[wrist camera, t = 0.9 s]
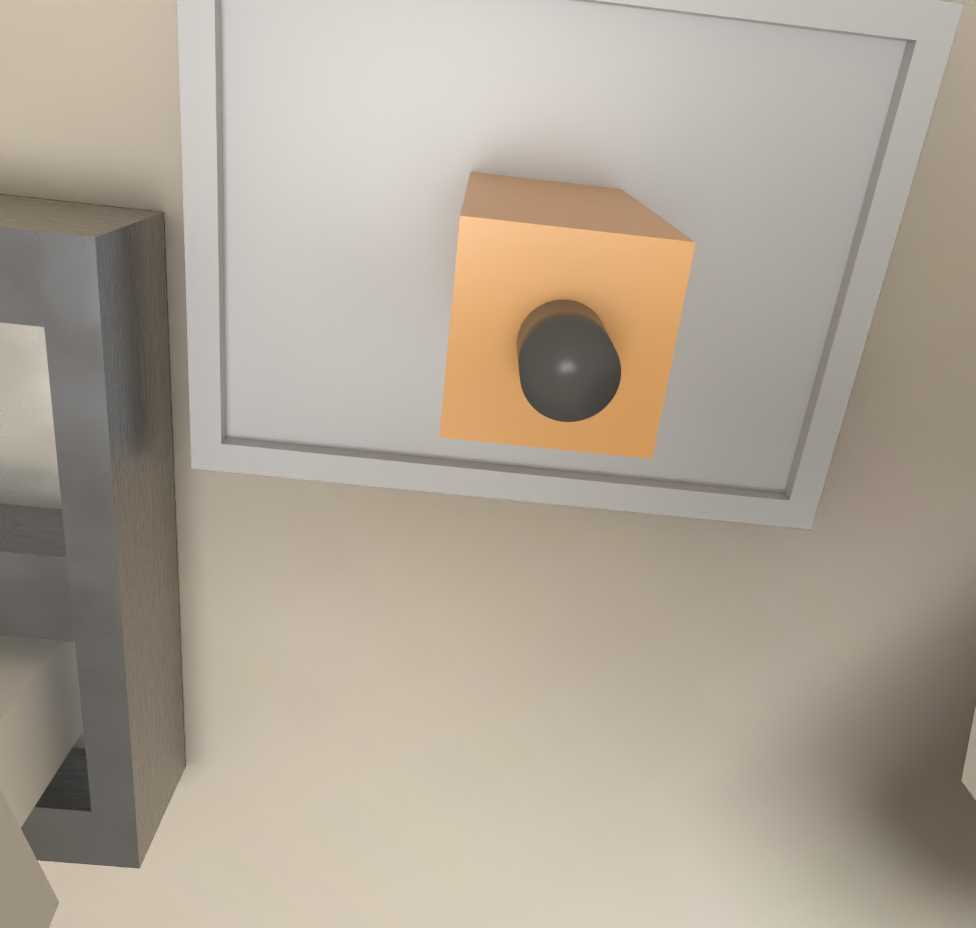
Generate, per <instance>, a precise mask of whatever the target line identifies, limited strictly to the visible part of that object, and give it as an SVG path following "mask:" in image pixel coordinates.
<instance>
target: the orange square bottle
mask: <svg viewBox="0 0 976 928" xmlns="http://www.w3.org/2000/svg"><path fill="white" fill-rule="evenodd" d="M695 244H696V242H695V241H693V240H692V239H691V238H689V237H688V236H686V235H685V234H684V233H682V232H681V231H679V230H678V229H677V228H675V227H674V226H672V225H671V224H670V223H668V222H667V221H665V220H664V219H663V218H661V217H660V216H658V215H657V214H655V213H654V212H653V211H651V210H650V209H648V208H647V207H646V206H644V205H643V204H641V203H640V202H639V201H637V200H636V199H634V198H633V197H632V196H630V195H629V194H627V193H626V192H625V191H623V190H622V189H616V188H608V187H599V186H590V185H582V184H573V183H564V182H556V181H547V180H538V179H530V178H521V177H512V176H503V175H495V174H486V173H477V172H470V175H469V180H468V184H467V188H466V192H465V196H464V201H463V205H462V209H461V213H460V221H459V231H458V242H457V253H456V263H455V274H454V285H453V296H452V306H451V317H450V328H449V339H448V349H447V360H446V371H445V382H444V392H443V403H442V414H441V424H440V435H439V438H449V439H459V440H469V441H478V442H488V443H498V444H508V445H518V446H528V447H537V448H547V449H557V450H567V451H577V452H587V453H596V454H606V455H616V456H626V457H636V458H646V459H652V458H653V453H654V448H655V443H656V438H657V433H658V428H659V423H660V418H661V413H662V408H663V403H664V399H665V394H666V389H667V384H668V379H669V374H670V369H671V364H672V359H673V354H674V349H675V344H676V339H677V334H678V329H679V324H680V319H681V314H682V309H683V304H684V299H685V294H686V289H687V284H688V279H689V274H690V269H691V264H692V259H693V254H694V249H695Z"/></svg>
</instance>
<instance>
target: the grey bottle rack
mask: <svg viewBox="0 0 976 928" xmlns="http://www.w3.org/2000/svg"><path fill="white" fill-rule="evenodd" d="M0 635H5V636H16V637H27V638H39V639H50V640H61V641H72V642H75V648H76V658H77V668H78V678H79V689H80V699H81V709H82V719H83V729H84V730H83V731H82V733H81V735H80V736H79V738H78V739H77V741H76V742H75V744H74V745H73V747H72V749H71V750H70V752H69V753H68V755H67V756H66V758H65V760H64V761H63V763H62V764H61V766H60V767H59V769H58V771H57V772H56V774H55V775H54V777H53V778H52V780H51V782H50V783H49V785H48V786H47V788H46V789H45V791H44V793H43V794H42V796H41V797H40V799H39V800H38V802H37V803H36V805H35V807H34V808H33V810H32V811H31V813H30V814H29V816H28V818H27V819H26V821H25V822H24V824H23V825H22V827H21V830H22V832H23V834H24V836H25V838H26V840H27V841H28V843H29V845H30V847H31V849H32V851H33V853H34V855H35V857H36V859H37V860H41V861H54V862H66V863H79V864H91V865H104V866H117V867H129V868H140V866H141V864H142V862H143V860H144V858H145V855H146V853H147V851H148V849H149V846H150V844H151V842H152V840H153V838H154V835H155V833H156V831H157V829H158V826H159V824H160V822H161V820H162V818H163V815H164V813H165V811H166V809H167V807H168V804H169V802H170V800H171V798H172V795H173V793H174V791H175V789H176V787H177V784H178V782H179V780H180V778H181V775H182V773H183V771H184V769H185V742H184V717H183V691H182V666H181V641H180V615H179V590H178V564H177V539H176V514H175V488H174V463H173V438H172V412H171V387H170V361H169V336H168V311H167V285H166V260H165V234H164V212H156V211H147V210H138V209H129V208H120V207H111V206H102V205H93V204H84V203H75V202H66V201H57V200H48V199H39V198H30V197H21V196H12V195H3V194H0Z"/></svg>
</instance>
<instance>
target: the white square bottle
mask: <svg viewBox="0 0 976 928" xmlns="http://www.w3.org/2000/svg"><path fill="white" fill-rule="evenodd" d="M83 730H84V729H83V719H82V709H81V699H80V689H79V678H78V668H77V658H76V648H75V642H72V641H61V640H50V639H39V638H27V637H16V636H5V635H0V790H1V792H2V794H3V796H4V797H5V799H6V801H7V803H8V805H9V807H10V809H11V811H12V813H13V815H14V817H15V819H16V820H17V822H18V824H19V826H20V828H21V827H22V825H23V824H24V822H25V821H26V819H27V818H28V816H29V814H30V813H31V811H32V810H33V808H34V807H35V805H36V803H37V802H38V800H39V799H40V797H41V796H42V794H43V793H44V791H45V789H46V788H47V786H48V785H49V783H50V782H51V780H52V778H53V777H54V775H55V774H56V772H57V771H58V769H59V767H60V766H61V764H62V763H63V761H64V760H65V758H66V756H67V755H68V753H69V752H70V750H71V749H72V747H73V745H74V744H75V742H76V741H77V739H78V738H79V736H80V735H81V733H82V731H83Z"/></svg>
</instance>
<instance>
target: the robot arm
mask: <svg viewBox="0 0 976 928" xmlns="http://www.w3.org/2000/svg"><path fill="white" fill-rule="evenodd" d="M961 781H962V782H963V784H964V785H965V786H966V788H967V789H968V791H969V792H970V793H971V795H972V796H973V798H974V799H975V800H976V707H975V712H974V717H973V722H972V728H971V733H970V738H969V743H968V749H967V754H966V759H965V764H964V770H963V775H962V780H961ZM58 904H59V901H58V899H57V897H56V895H55V893H54V891H53V889H52V887H51V885H50V884H49V882H48V880H47V878H46V876H45V874H44V872H43V870H42V868H41V866H40V864H39V863H38V861H37V859H36V857H35V855H34V853H33V851H32V849H31V847H30V845H29V843H28V841H27V840H26V838H25V836H24V834H23V832H22V830H21V828H20V826H19V824H18V822H17V820H16V819H15V817H14V815H13V813H12V811H11V809H10V807H9V805H8V803H7V801H6V799H5V797H4V796H3V794H2V792H1V790H0V928H49V925H50V923H51V921H52V918H53V916H54V913H55V911H56V909H57V906H58Z"/></svg>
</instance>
